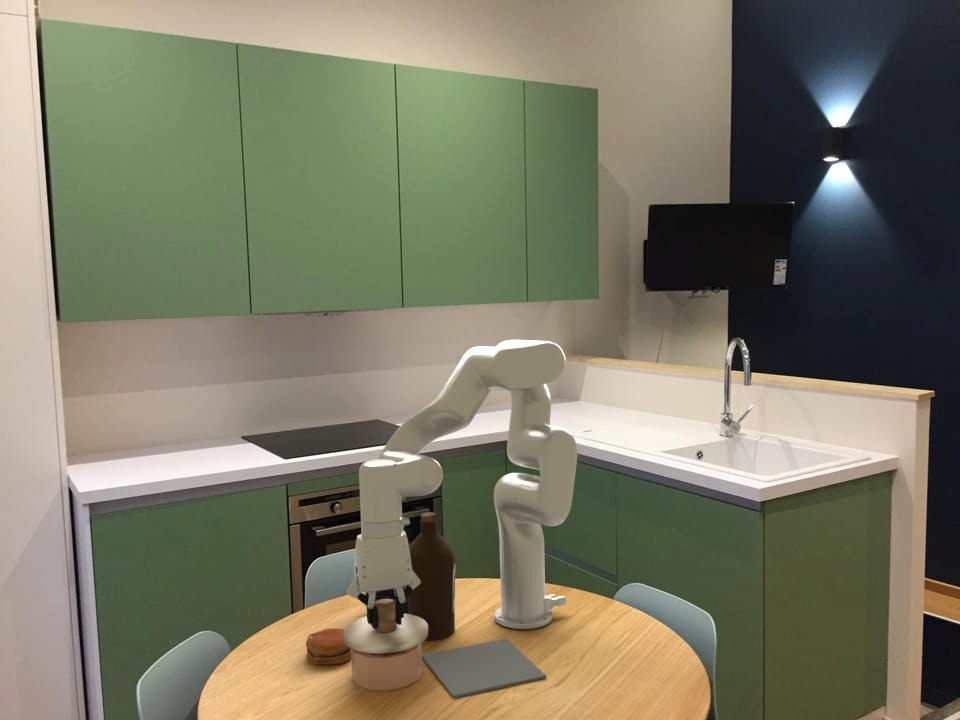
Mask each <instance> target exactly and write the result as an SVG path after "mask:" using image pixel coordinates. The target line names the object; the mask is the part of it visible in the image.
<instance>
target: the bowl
mask: <svg viewBox="0 0 960 720" xmlns="http://www.w3.org/2000/svg"><path fill="white" fill-rule="evenodd" d="M422 655H423V654H422V643H420V644H419V645H417V646H415V647H412V648H410V649H407V650H403V651H399V652H393V653H365V652H360V651H356V650H354V649H351V659H350V662H351V663H350V664H351V678H352V680H353V682H354V683H355V685H356V686H358V687H360V688H361V687H362V688H364V689H366V690H369V691H387V692H388V691H392V690H397V689H402V688H406V687H408V686H410V685H412V684H414V683H415V682H417V681H418V680H419V679H420V677H421V676H422V673H423V659H422Z"/></svg>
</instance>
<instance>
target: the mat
mask: <svg viewBox="0 0 960 720" xmlns="http://www.w3.org/2000/svg"><path fill="white" fill-rule="evenodd" d="M422 661H424V663H425V664H426V665H427V667H428V668H429V669H430V670H431V672H432V673H433V674H434V675H435V677H436V678H437V679H438V681H439V682H440V684H442V686H443V687H444V688H445V690H447V692H448V694H449V695H450V696H451V697H452V698H453V699H457V698H462V697H467V696H470V695H474V694H479V693H485V692H489V691H494V690H498V689H499V690H500V689H503V688H506V687H511V686H516V685H521V684H526V683H531V682H535V681H539V680H544V679H547V675H546V674H545V673H544V672H543V671H542V670H541V669H540V668H539V667H537V666H536V665H535V664H534V662H532V660H531V659H529V658H528V657H527V656H526V655H525V654H524V653H523V652H521V651H520V649H518V647H516V646H515V645H514V644H513V643H512V642H511V641H510V640H509V639H507V638H503V639H497V640H492V641H487V642H482V643H477V644H472V645H471V644H470V645H467V646H461V647H455V648H450V649H445V650H440V651H436V652H431V653H426V654H422Z"/></svg>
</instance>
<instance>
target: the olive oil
mask: <svg viewBox="0 0 960 720" xmlns="http://www.w3.org/2000/svg"><path fill="white" fill-rule="evenodd" d="M419 522H420V523H419V524H420V533H419V534H417V536H416V538H415V539H414V540H413V541H412V542H411V543H409V544H410V546H409V550H410V557H411V565H412V570H413V571H414V573H415V574H416V575H417V577H418V578H419V579H420V581H421V583H420V584H419V585H418V586H417V587H416V588H415V589H413V590H412V591H411V593H410V594H409V595H408V596H407V599H408V612H409V614H411V615H415V616H417V617H420V618H422V619H423V620H425V621H426V622H427V624H428V636H427V638H426V639H425V640H424V641H437V640H441V639H442V640H443V639H446V638H448V637H450V636H451V635H453V633H454V632H455V631H456V630H455V628H456V625H455V624H456V623H455V622H456V621H455V619H456V614H455V611H456V605H455V602H456V564H457V563H456V556H455V555H456V554H455V551H454V548H453V547H452V545H451V544H450V543H449V542H448V541H447V540H446V539H445V538H444V537H443V536H442V535H441V534H440V533H439V532H438V521H437V514H436V513H435V512H431V511H429V512H428V511H427V512H423V513H421V514H420V521H419Z"/></svg>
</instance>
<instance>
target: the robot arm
mask: <svg viewBox="0 0 960 720" xmlns="http://www.w3.org/2000/svg"><path fill="white" fill-rule="evenodd" d="M565 355H566V354H565V353H564V351H563V349H562V348H561V347H560V345H558V344H557V343H554V342H552V341H548V340H547V341H546V340H528V339H527V340H526V339H509V340H504V341H502V342H499V343H498V344H497V345H496V346H474V347H471V348H470V349H468V350H467V351H466V352H465V353H464V354H463V355H462V357H461V358H460V360H459V361H458V363H456V365H455V366H454V368H453V371H452V372H451V373H450V375H449V376H448V378H447V379H446V381H445V383H444V384H443V386H442V387H441V389H440V390H439V392H438V393H437V395H436V396H435V397H434V398H433V401H432V402H430V403H429V404H427V405H426V406H425V407H423V408H422V409H420V410H419V411H417V412H416V413H414V414H413V415H412V416H411V417H409V419H406V420H405V422H403V423H402V424H401V425H400V426H399V427H398V428H397V429H396V430H395V432H394V433H393V434H392V435H391V437H390V438H389V440H388V441H387V442H386V444H385V446H384V447H383V449H382V451H381V453H380V454H379V456H378V459H371V460H367V461H365V462H363V463H362V464H361V465H360V466H359V470H358V481H359V503H360V504H359V505H360V506H359V507H360V528H361V533H360V534H358V535H357V536H356V542H355V549H354V550H355V551H354V565H353V567H354V569H353V571H354V572H353V573H354V576H353V578H352V580H351V582H350V583H349V586H348V587H347V589H346V593H347V595H348V596H350V597H352V598H353V599H356V600H359V602H361V603H362V604H363V605H365V607H366V616H367V622H368V624H370V625H371V626H372V627H373V629H377V628H378V619H377V608H376V607H375V603H374V602H375V595H376V591H382V590H388V589H394V593H395V599H393V600H395V601H396V621H397V624H398V625H401V624H402V620H401V618H404V608H403V603H404V602H405V599H406V598H407V596H408V595H409V594H410V593H411V591H412V590H413V589H415V588H416V587H417V586H418V585H419V584H420V583H421V581H420V579H419V578H418V577H417V575H416V574H415V573H414V571H413V570H412V565H411V557H410V550H409V544H410V543H409V540H408V535H407V533H406V531H405V530H404V529H405V527H406V526H410V524H411V521H410V518H409V517H404V516H403V505H402V504H403V503H402V498H405V497H406V498H409V497H423V496H427V495H430V494H432V493H434V492H435V491H436V490H438V488H439V487H440V486H441V484H442V483H443V478H444V472H443V467H442V466H441V464H440V462H438V461H437V460H436V459H434V458H433V457H430V456H427V455H424V454H420V453H421V451H422V450H423V449H424V448H425V447H427V446H428V445H429V444H430V443H432V442H434V441H435V440H438V439H439V438H440V439H441V438H442V437H445V436H447V435H450V434H453V433H454V434H455V433H457V432H460V431H461V430H463V429H465V428H467V427H469V426H470V425H471V423H472V421H473V420H474V418H475V416H476V415H477V413H478V411H479V410H480V408H481V406H482V405H483V404H484V401H485V400H486V399H487V397H488V396H489V394H490V392H491V391H492V390H495V391H496V390H497V391H505V392H506V391H508V392H510V397H511V399H510V400H511V406H510V409H511V410H510V418H509V423H508V424H509V425H508V426H509V427H508V433H507V440H506V441H507V444H506V455H507V458H508V459H509V461H510V462H511V463H512V464H514V465H516V466H520V467H523V468H527V469H532V470H538V471H539V472H540V473H539V476H538V475H534V474H529V473H523V472H510V473H507V474H505V475H503V476H501V477H500V479H498V481H497V482H496V484H495V486H494V490H493V504H494V509H495V513H496V518H497V523H498V531H499V533H498V534H499V535H498V536H499V563H500V564H499V568H500V569H499V570H500V572H499V573H500V607H497V609H496V610H495V611H494V618H493V619H494V621H495V622H496V623H497V624H499V625H501V626H503V627H505V628H509V629H516V630H531V629H538V628H541V627H544V626H546V625H548V624H550V623H551V622H552V621H553V618H554V614H553V611H552V609H554V607H560V606H566V604H567V598H566V597H565V596H564V595H560V596H556V595H555V594H548V595H546V576H545V575H546V573H545V568H546V567H545V538H544V531H543V529H542V525H543V526H547V527H555V526H559V525H561V524H563V523H564V522H565V520H566V519H567V518H568V516H569V514H570V510H571V508H572V501H573V497H574V496H573V495H574V487H575V480H576V472H577V463H578V446H577V442H576V440H575V437H574V436H573V434H572V433H571V432H570V431H569V430H568V429H566V428H563V427H561V426H555V425H551V414H552V413H551V412H552V398H551V394H550V390H549V387H548V386H547V384H551V383H553V382H555V381H557V380H558V379H559V378H560V377H561V376H562V374H563V372H564V370H565V367H566V356H565ZM408 543H409V544H408ZM358 588H359V589H360V591H359V590H358Z"/></svg>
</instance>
